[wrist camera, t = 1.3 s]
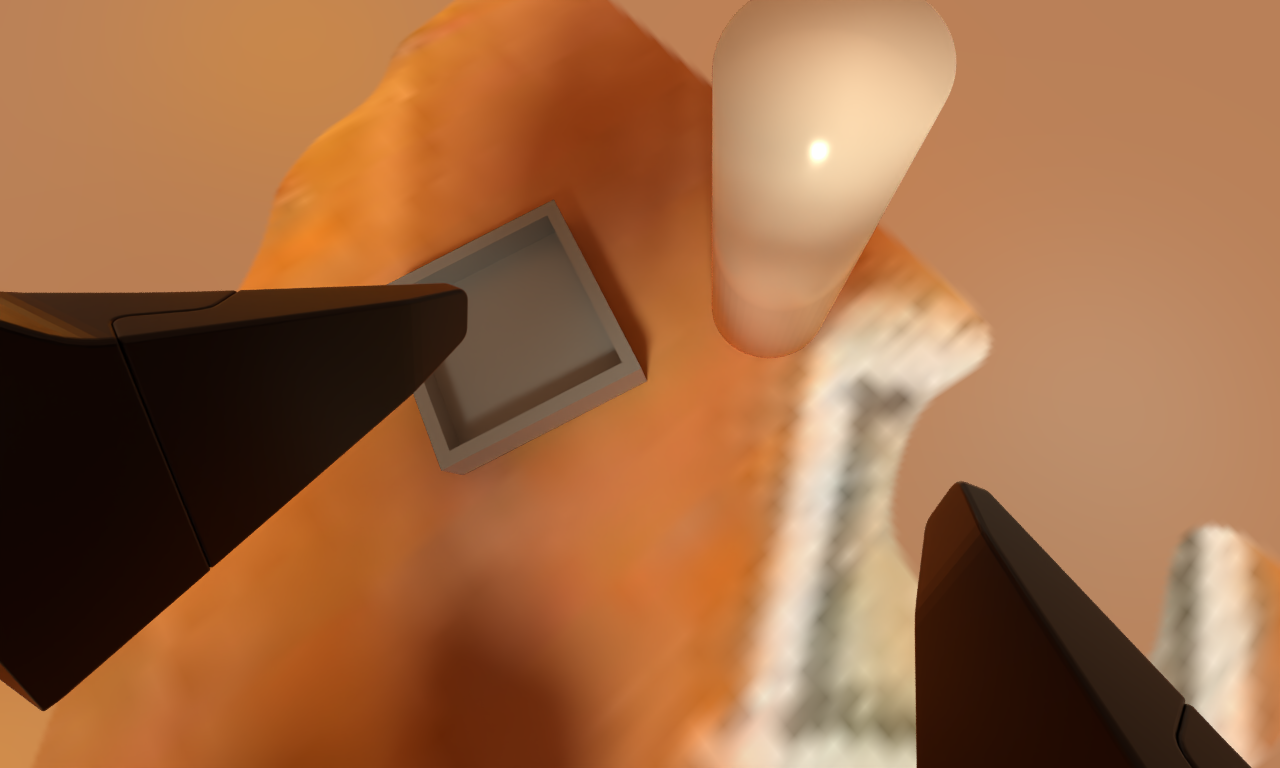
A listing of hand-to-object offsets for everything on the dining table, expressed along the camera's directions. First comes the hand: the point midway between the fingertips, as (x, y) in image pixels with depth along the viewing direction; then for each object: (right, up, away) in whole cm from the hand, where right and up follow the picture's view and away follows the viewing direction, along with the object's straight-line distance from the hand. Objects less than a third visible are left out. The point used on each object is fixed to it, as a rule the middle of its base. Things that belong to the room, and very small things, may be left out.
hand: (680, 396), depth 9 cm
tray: (-6, +2, +16) cm, 17 cm away
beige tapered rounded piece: (+5, +4, +14) cm, 16 cm away
